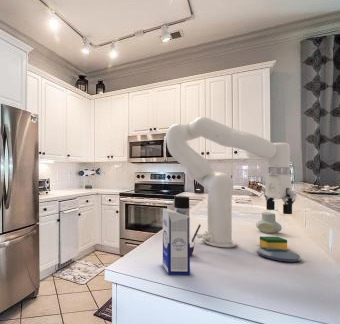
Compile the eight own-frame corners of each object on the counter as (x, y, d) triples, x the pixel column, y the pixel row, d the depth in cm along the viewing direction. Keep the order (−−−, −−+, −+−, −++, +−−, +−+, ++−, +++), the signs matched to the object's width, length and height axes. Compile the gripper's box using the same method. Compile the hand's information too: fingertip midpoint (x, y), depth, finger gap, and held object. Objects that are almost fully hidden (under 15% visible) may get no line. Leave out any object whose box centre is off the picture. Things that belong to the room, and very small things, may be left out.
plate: (272, 263, 88) (272, 258, 88) (249, 250, 101) (249, 247, 101) (310, 263, 88) (310, 259, 88) (282, 251, 101) (282, 247, 101)
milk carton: (162, 265, 85) (162, 207, 85) (182, 266, 85) (182, 207, 85) (168, 274, 78) (168, 210, 78) (190, 275, 78) (190, 210, 78)
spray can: (178, 236, 121) (178, 195, 121) (191, 239, 116) (191, 196, 116) (171, 239, 116) (171, 196, 116) (185, 242, 111) (185, 198, 112)
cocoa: (171, 253, 97) (171, 222, 97) (177, 249, 102) (177, 220, 102) (196, 260, 91) (196, 226, 91) (202, 255, 95) (202, 224, 96)
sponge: (267, 249, 103) (267, 239, 103) (259, 245, 108) (259, 236, 108) (287, 249, 103) (287, 240, 103) (278, 245, 108) (278, 236, 108)
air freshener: (254, 231, 132) (254, 212, 132) (258, 228, 138) (258, 210, 138) (279, 235, 124) (279, 215, 124) (283, 232, 130) (283, 213, 130)
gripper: (256, 171, 115) (256, 208, 115) (285, 172, 98) (285, 215, 98) (272, 171, 115) (272, 208, 115) (304, 172, 98) (304, 216, 98)
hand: (278, 211), depth 106 cm, fingers open, 9 cm apart
